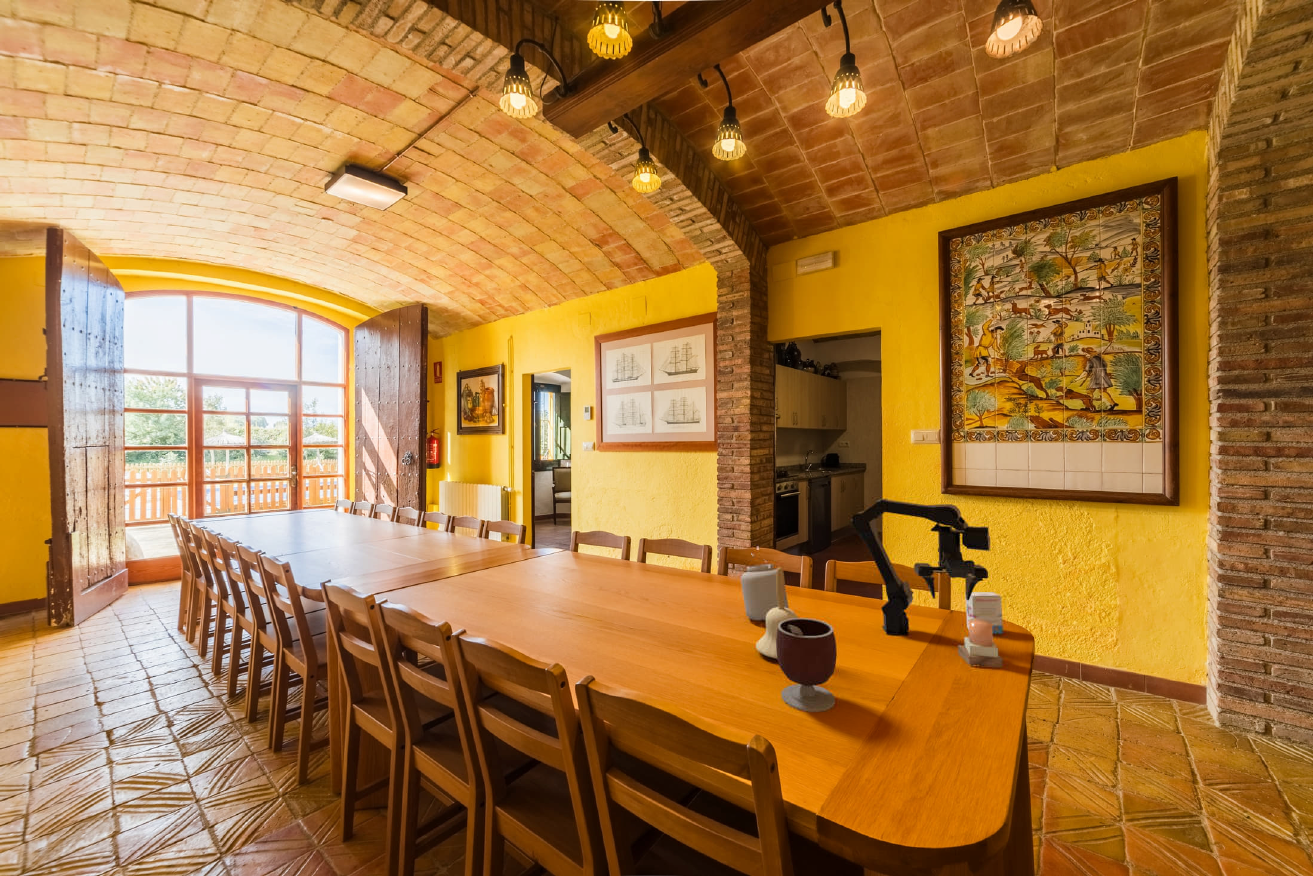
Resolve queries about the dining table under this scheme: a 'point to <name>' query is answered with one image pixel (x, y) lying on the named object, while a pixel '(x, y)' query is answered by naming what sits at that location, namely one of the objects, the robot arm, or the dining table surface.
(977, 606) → the ink box
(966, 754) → the dining table surface
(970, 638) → the terracotta cylinder
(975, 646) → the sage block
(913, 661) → the dining table surface
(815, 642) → the mate gourd
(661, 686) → the dining table surface
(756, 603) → the jar
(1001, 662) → the walnut slab
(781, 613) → the handbell
